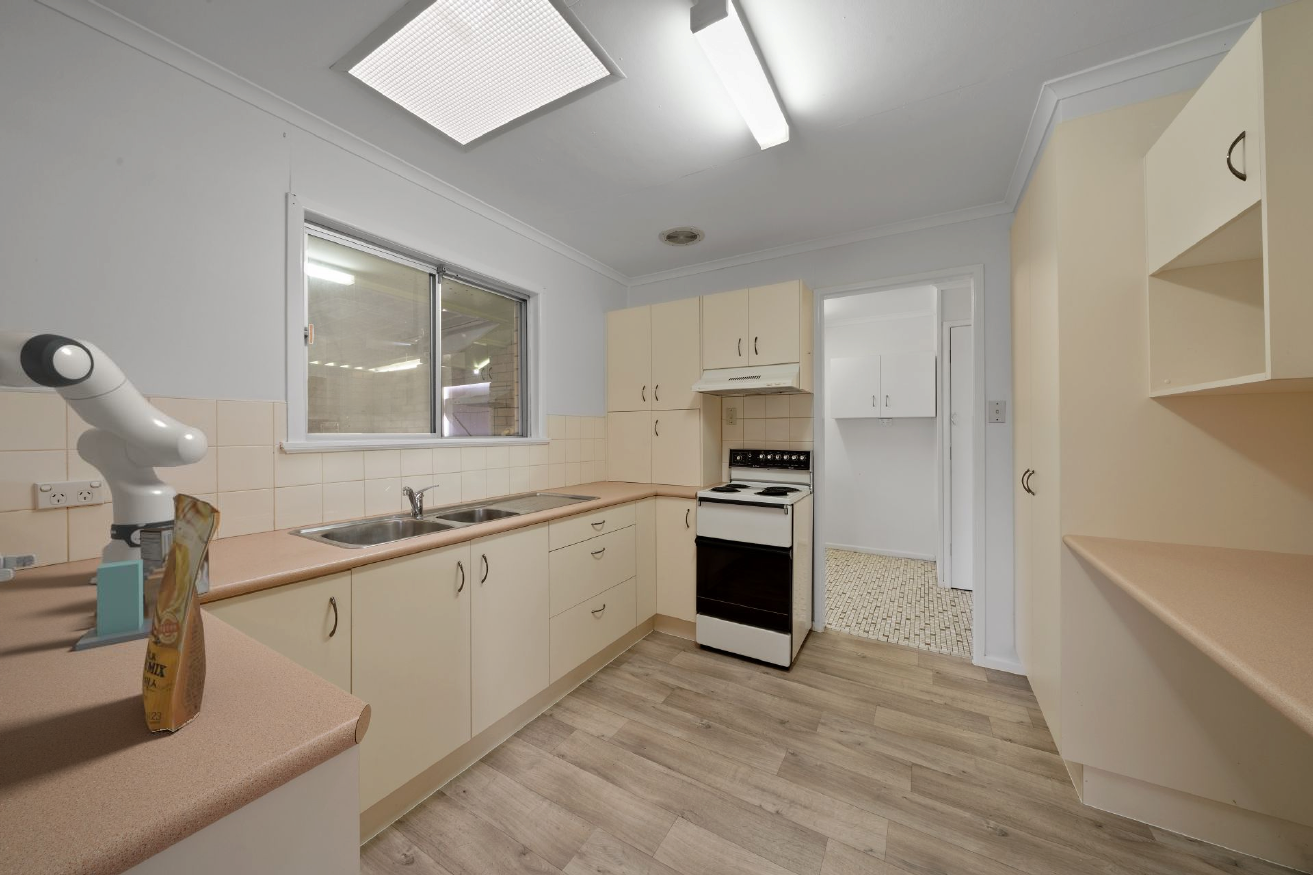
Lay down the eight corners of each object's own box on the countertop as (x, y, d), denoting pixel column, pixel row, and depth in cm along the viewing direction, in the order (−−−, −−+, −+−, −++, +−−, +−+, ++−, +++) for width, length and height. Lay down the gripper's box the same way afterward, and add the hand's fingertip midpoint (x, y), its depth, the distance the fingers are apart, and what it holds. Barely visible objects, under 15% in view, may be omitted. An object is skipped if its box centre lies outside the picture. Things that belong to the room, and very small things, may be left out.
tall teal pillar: (103, 629, 87) (102, 563, 86) (143, 622, 90) (142, 559, 90) (97, 636, 83) (96, 568, 83) (139, 629, 87) (138, 563, 87)
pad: (90, 633, 87) (90, 628, 87) (160, 621, 93) (160, 616, 93) (75, 650, 80) (75, 644, 80) (152, 636, 86) (152, 630, 86)
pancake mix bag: (205, 672, 73) (204, 490, 73) (223, 722, 60) (221, 502, 60) (140, 690, 68) (139, 494, 68) (145, 748, 55) (143, 508, 55)
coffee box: (189, 589, 112) (188, 521, 112) (210, 591, 111) (210, 522, 110) (139, 603, 103) (138, 529, 103) (162, 605, 102) (161, 530, 101)
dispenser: (106, 614, 96) (106, 571, 96) (186, 601, 104) (185, 561, 104) (94, 628, 89) (94, 581, 89) (180, 613, 97) (180, 570, 97)
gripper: (-174, 581, 64) (-3, 562, 73) (-89, 549, 79) (43, 536, 88) (-171, 627, 64) (-1, 602, 73) (-87, 586, 80) (45, 570, 88)
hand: (24, 566), depth 81 cm, fingers open, 8 cm apart
